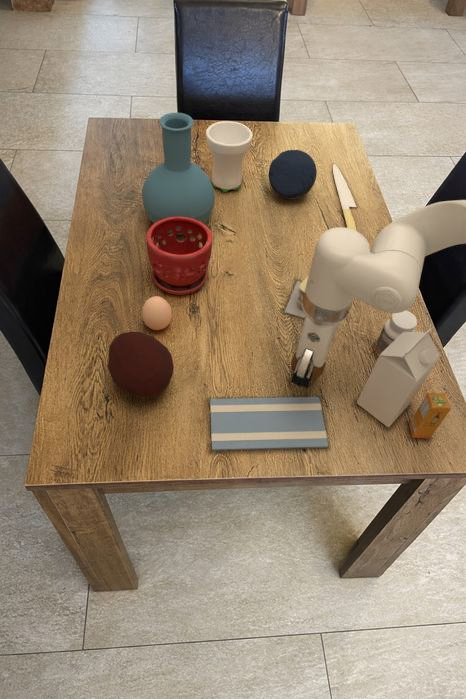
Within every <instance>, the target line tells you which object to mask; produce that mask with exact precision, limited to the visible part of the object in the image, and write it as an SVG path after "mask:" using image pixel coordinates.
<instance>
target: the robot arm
mask: <svg viewBox="0 0 466 699" xmlns="http://www.w3.org/2000/svg"><path fill="white" fill-rule="evenodd" d="M464 244H465V245H466V199H457V200H445V201H438V202H434V203H430V204H428V205H425V206H423V207H420V208H418V209H416V210H414V211H412V212H409V213H408V214H406V215H403V216H401V217H399V218H397V219H395V220H393V221H392V222H390V223H388V224H387V225H386V226H384V227H383V228H382V229H381V230H380V231H379V233H378V234H377V235H376V237H375V238H374V240H373V244H372V245H371V246H372V247H371V248H370V244H369V242H368V240H367V238H366V237H365V236H364V235H363V234H362V233H360V232H359V231H358V230H356V231H355V230H353V229H350V228H347V227H343V226H337V227H331V228H329V229H327V230H325V231H323V232H322V234H320V235H319V237H318V239H317V240H316V244H315V248H314V250H313V251H314V252H313V256H312V261H311V264H310V269H309V273H308V275H309V276H308V275H307V276H308V280H307V284H306V289H305V293H304V297H303V301H302V308H303V311H304V313H305V314H306V317H305V318H304V320H303V324H302V328H301V331H300V335H299V338H298V339H299V340H298V344H297V348H296V351H297V352H296V351H295V352H296V358H297V359H299V360H298V363H297V366H296V368H295V369H294V372H292V375H291V376H292V377H291V379H290V380H291V381H290V382H291V383H292V384H294V385H295V386H298V387H299V388H305V389H308V388H309V386H310V383H311V382H310V381H311V377H312V373H311V372H312V370H313V367H314V366H316V367H322V366H323V364H324V362H325V363H326V359H327V357H328V355H329V352H330V350H331V348H332V344H333V342H334V339H335V337H336V335H337V334H336V333H337V331H338V328H339V325H340V324H341V323H342V322H344V321H345V320H346V319H347V317H348V316H349V313H350V310H351V307H352V306H353V302H354V299H355V298H356V299H357V300H359V301H361V302H362V303H364V304H365V305H367V306H370V307H371V308H374V309H375V310H377V311H381V312H383V313H387V314H393V313H400V312H403V311H405V310H406V311H408V310H409V309H410V308H411V307H412V306H413V304H414V303H415V301H416V299H417V296H418V292H419V286H420V283H421V282H420V281H421V276H422V272H423V267H424V262H425V258H426V257H428V256H429V255H432V254H435V253H437V252H439V251H442V250H444V249H446V248H450V247H453V246H457V245H464ZM303 354H304V356H303ZM312 355H313V357H312ZM311 357H312V359H311ZM308 364H311V366H310V368H309V370H307V367H308Z"/></svg>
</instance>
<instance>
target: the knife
mask: <svg viewBox="0 0 466 699" xmlns="http://www.w3.org/2000/svg"><path fill="white" fill-rule="evenodd" d="M332 174H333V178H334V183H335V187H336V191H337V194H338V198H339V202H340V205H341V209H342V213H343V217H344V220H345V224H346V228H350V229H353V230H355V231H357V226H356V222H355V219H354V216H353V214H352V212H351V209H350V208H357V205H356V202H355V198H354V197H353V195H352V193H351V190H350V188H349V186H348V183H347V181H346V179H345V177H344V176H343V173H342V172H341V170H340V168H339V166H338V165H337V164H336V163H333V165H332Z"/></svg>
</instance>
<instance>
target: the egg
mask: <svg viewBox="0 0 466 699" xmlns="http://www.w3.org/2000/svg"><path fill="white" fill-rule="evenodd" d="M141 317H142V321H143V323H144V324H145V326H147V327H148V328H149V329H151V330H155V331H160V330H163V329H166V328H167V327H168V325H169V324H170V323H171V321H172V317H173V311H172V308H171V304H170V303H169V302H168V301H167V300H166V299H165V298H163V297H162V296H158V295H155V296H151V297H150V298H148V299H146V301H145V302H144V303H143V305H142V309H141Z"/></svg>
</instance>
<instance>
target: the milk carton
mask: <svg viewBox="0 0 466 699" xmlns="http://www.w3.org/2000/svg"><path fill="white" fill-rule="evenodd" d="M431 330H432V329H431V328H428V329H427V330H426V331H423V332H422V331H421V332H420V331H415V332H403V333H402V334H401V335H400V336H399V337H398V338H397V339H396V340H394V341H393V342H392V343H391V344H390V345H389V346H388V347H387V348H386V349H385V350H384V351H383V352H382V353H381V354H380V355H379V356H378V357H377V360H376V361H375V363H374V366H373V368H372V369H371V372H370V374H369V376H368V378H367V380H366V382H365V384H364V386H363V388H362V391H361V393H360V395H359V396H358V399H357V401H356V404H357V405H358V406H359V407H361V408H362V409H363V410H364V411H366V412H367V413H368V414H370V415H371V416H372V417H374V418H375V419H376V420H378V421H379V422H380V423H381V424H383V425H384V426H385V427H387V428H390V427H391V425H392V424H393V423H394V422H395V421H396V420H397V419H398V418H399V417H400V416H401V415H402V413H404V412H405V410H406V409H407V408H408V407H409V406H410V405H411V403H412V401H413V400H414V398H415V397H416V395H417V394H418V392H419V391H420V389H421V388H422V386H423V385H424V383H425V381H426V380H427V378H428V377H429V375H430V374H431V372H432V370H433V369H434V368H435V366H436V364H437V363H438V361H439V360H440V358H441V355H440V353H439V350H438V349H437V347H436V345H435V343H434V341H433V338H432V337H431V335H430V332H431Z"/></svg>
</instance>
